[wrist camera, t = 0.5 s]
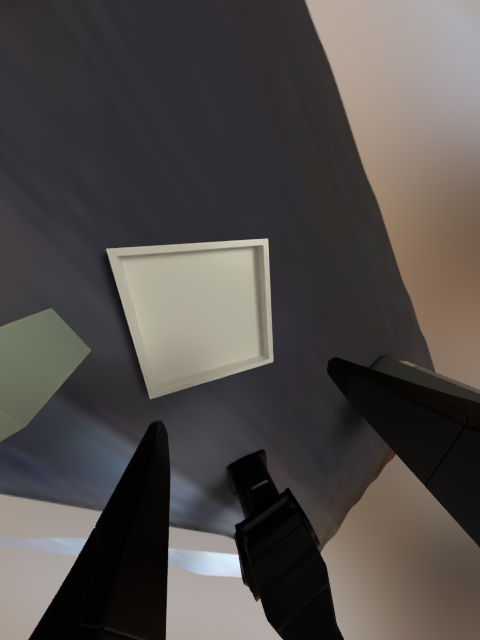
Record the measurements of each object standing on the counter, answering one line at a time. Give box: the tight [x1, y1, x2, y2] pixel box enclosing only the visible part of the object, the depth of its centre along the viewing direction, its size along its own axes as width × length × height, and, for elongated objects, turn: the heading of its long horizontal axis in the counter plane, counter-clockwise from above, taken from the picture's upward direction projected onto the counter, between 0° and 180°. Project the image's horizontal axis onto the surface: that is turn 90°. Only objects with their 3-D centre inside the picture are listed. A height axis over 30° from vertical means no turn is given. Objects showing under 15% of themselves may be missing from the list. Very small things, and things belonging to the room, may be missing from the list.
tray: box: [106, 239, 273, 399], centre depth 21 cm, size 15×15×2 cm
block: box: [0, 308, 91, 441], centre depth 13 cm, size 5×5×10 cm
